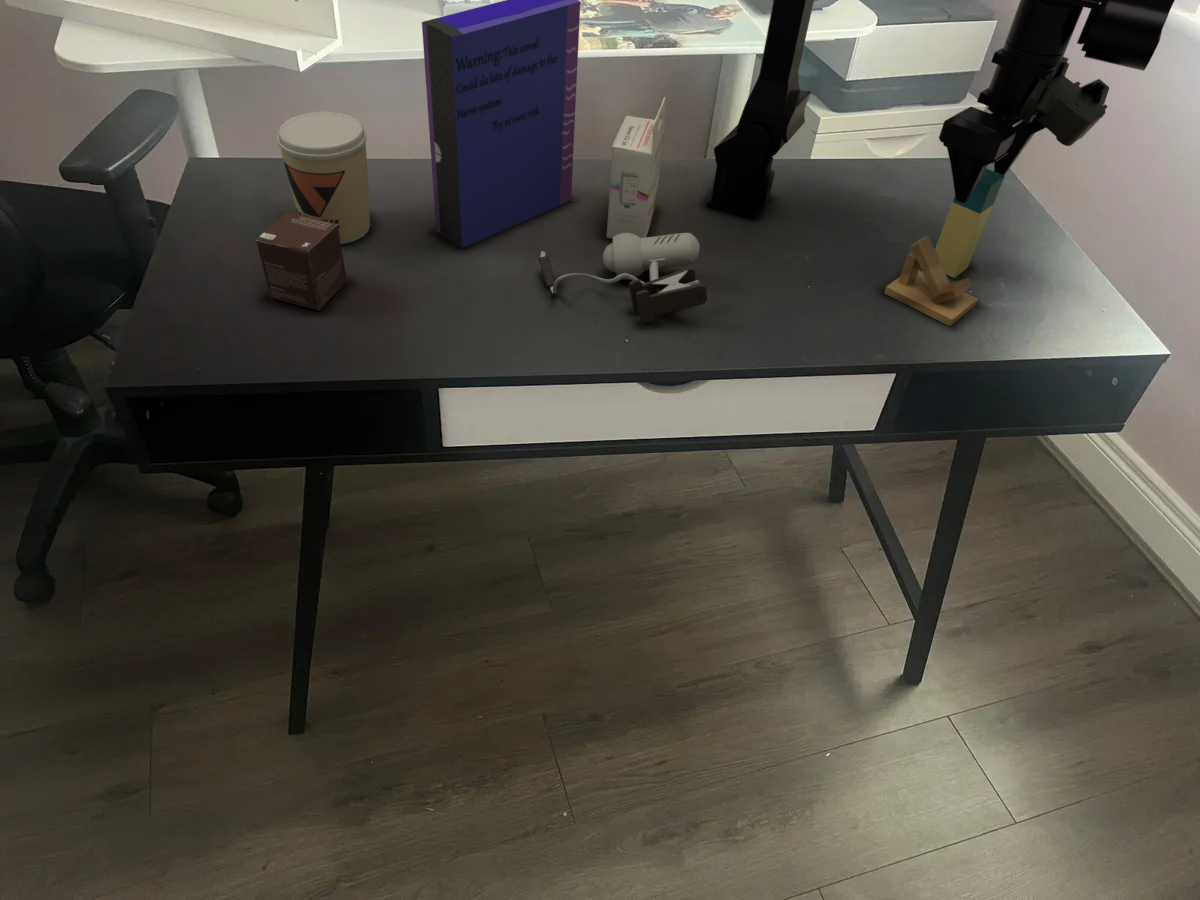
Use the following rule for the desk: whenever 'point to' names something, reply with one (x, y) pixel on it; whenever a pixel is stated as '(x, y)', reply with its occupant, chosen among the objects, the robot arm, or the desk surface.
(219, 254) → the desk surface
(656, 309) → the clip-on lamp
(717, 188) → the robot arm
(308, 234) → the box
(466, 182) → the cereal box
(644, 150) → the ink cartridge box
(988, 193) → the two-tone square bar
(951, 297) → the tan wooden stand
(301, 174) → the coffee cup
